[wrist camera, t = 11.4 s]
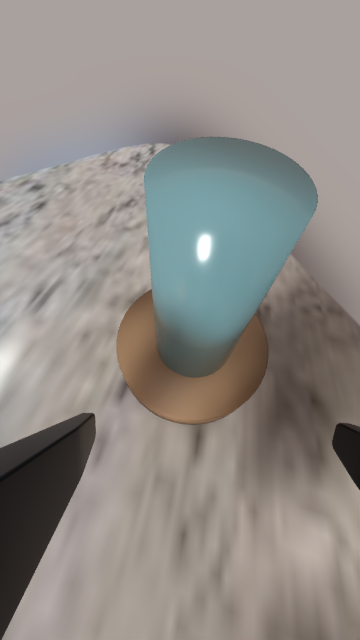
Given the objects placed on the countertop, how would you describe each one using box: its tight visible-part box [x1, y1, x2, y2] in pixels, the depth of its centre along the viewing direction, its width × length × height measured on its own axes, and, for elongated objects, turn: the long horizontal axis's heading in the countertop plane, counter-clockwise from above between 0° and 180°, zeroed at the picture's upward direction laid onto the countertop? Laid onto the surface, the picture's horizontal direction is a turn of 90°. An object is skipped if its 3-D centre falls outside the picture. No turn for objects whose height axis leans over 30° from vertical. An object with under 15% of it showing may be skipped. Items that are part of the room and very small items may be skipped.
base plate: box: [117, 289, 268, 425], centre depth 21 cm, size 12×12×2 cm
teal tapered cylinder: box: [144, 137, 318, 378], centre depth 14 cm, size 6×6×13 cm
